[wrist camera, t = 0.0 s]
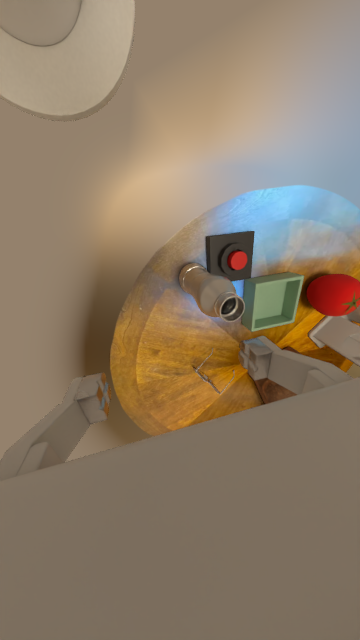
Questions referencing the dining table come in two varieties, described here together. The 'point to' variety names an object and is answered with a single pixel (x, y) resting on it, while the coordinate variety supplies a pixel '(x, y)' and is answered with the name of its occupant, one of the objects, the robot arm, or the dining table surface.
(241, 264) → the button
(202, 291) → the metal bottle
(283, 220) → the dining table surface
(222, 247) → the block
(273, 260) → the dining table surface
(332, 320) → the phone holder
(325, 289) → the tomato
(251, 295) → the tray
